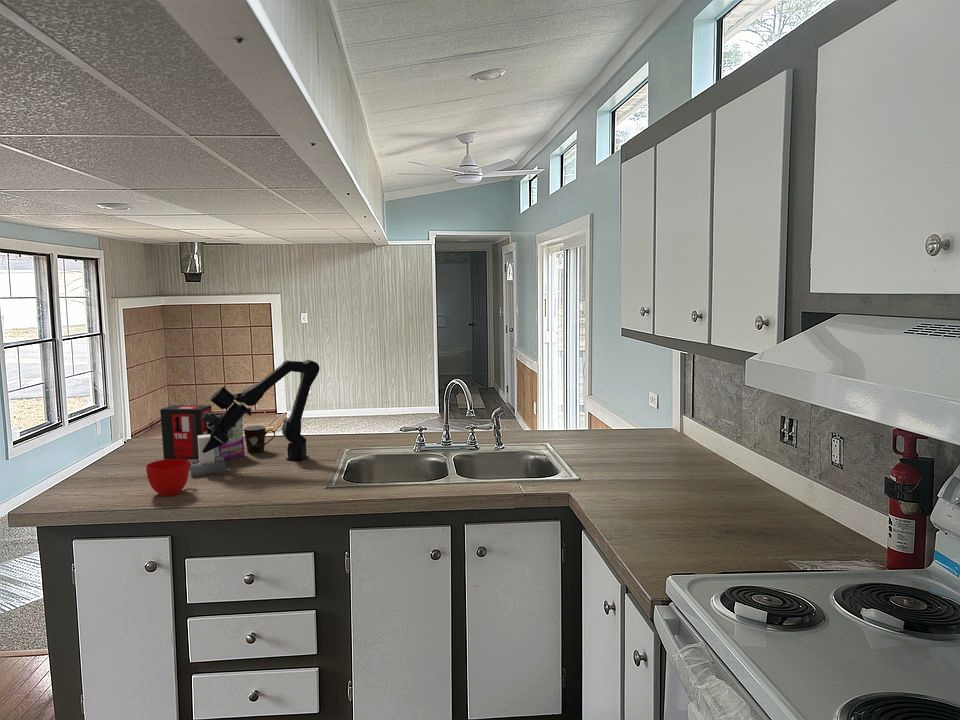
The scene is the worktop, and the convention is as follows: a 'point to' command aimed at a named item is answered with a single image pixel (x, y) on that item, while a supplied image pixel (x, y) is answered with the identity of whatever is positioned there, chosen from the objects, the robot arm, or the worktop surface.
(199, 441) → the keyed peg
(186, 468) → the ceramic cup
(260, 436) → the coffee mug
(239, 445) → the candy bar box
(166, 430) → the cleaning product box
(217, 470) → the keyed socket block
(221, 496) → the worktop surface
